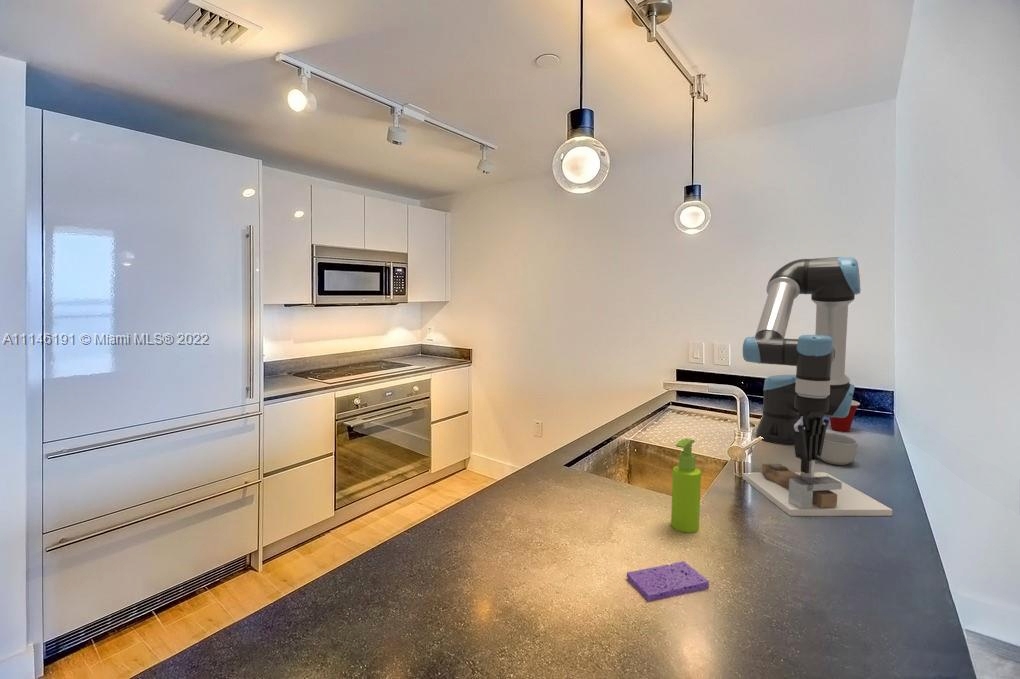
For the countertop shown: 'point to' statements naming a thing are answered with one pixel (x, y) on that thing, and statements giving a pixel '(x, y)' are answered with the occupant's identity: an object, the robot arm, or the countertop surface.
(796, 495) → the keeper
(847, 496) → the base board
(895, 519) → the countertop surface
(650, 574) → the sponges
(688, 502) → the soap dispenser
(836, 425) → the plastic cup
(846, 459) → the teacup
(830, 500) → the latch
